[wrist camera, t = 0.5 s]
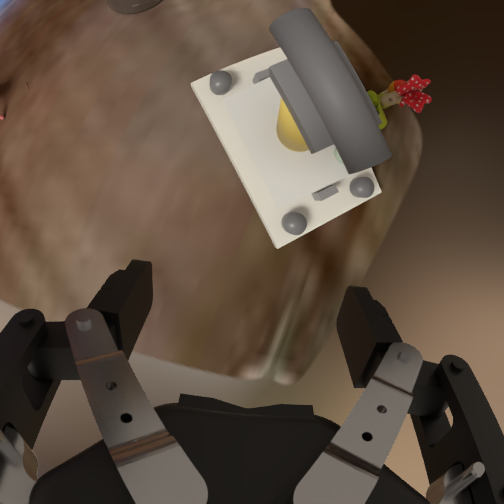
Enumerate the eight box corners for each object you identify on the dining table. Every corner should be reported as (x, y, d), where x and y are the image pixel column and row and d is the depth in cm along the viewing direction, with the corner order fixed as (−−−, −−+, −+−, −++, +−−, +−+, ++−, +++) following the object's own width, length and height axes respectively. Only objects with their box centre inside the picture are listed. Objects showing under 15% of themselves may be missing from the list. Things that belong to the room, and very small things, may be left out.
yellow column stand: (223, 102, 34) (165, 25, 13) (315, 60, 32) (361, -45, 11) (278, 207, 37) (290, 262, 16) (369, 164, 35) (479, 167, 14)
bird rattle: (368, 81, 40) (341, 101, 37) (421, 47, 30) (403, 61, 27) (393, 114, 42) (370, 139, 38) (449, 85, 32) (436, 107, 28)
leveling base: (191, 87, 36) (189, 75, 32) (300, 44, 36) (308, 31, 32) (275, 247, 40) (282, 252, 36) (376, 192, 41) (391, 192, 37)
